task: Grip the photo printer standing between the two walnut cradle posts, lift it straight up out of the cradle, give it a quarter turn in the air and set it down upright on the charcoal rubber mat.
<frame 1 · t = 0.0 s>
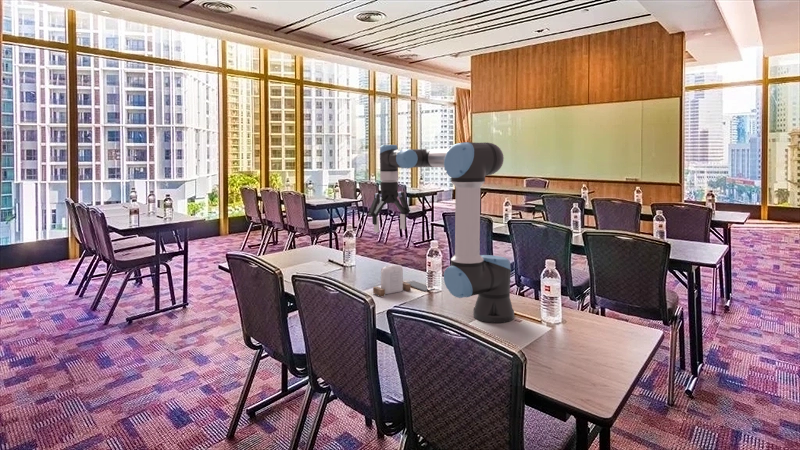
hand: (389, 230, 216), 28 cm above the table, tool pointing down, fingers open, 13 cm apart
mat: (418, 286, 230), on the table
cradle: (392, 292, 221), on the table
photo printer: (392, 292, 222), on the table
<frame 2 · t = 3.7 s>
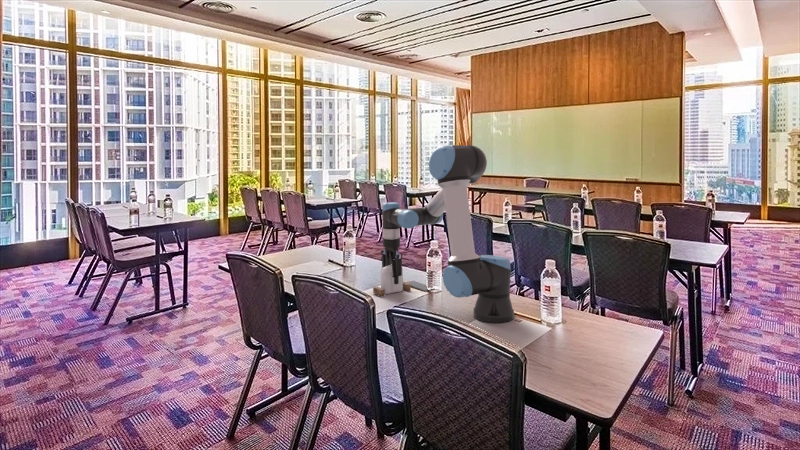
hand: (392, 289, 221), 1 cm above the table, tool pointing down, fingers closed on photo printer, 4 cm apart
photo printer: (392, 292, 221), on the table, touching gripper
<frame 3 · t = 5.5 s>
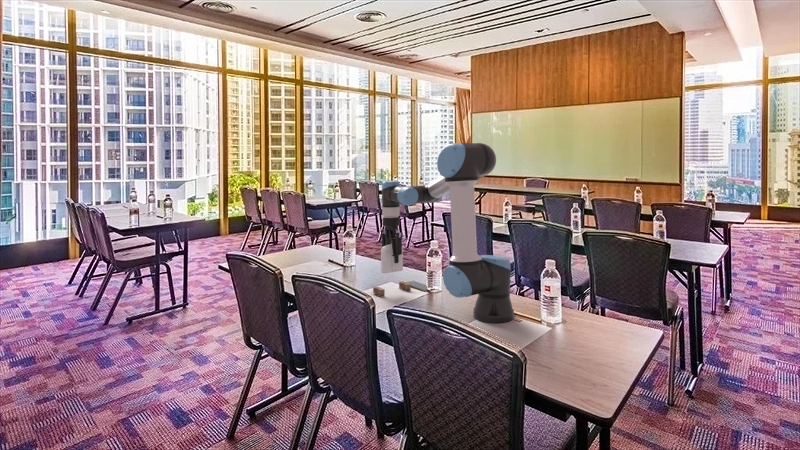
hand: (392, 269, 220), 11 cm above the table, tool pointing down, fingers closed on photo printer, 4 cm apart
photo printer: (392, 272, 220), point 9 cm above the table, touching gripper
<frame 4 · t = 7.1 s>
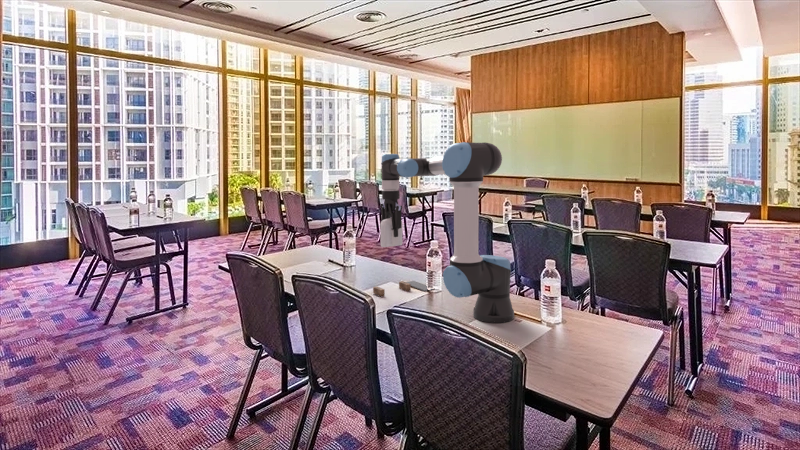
hand: (391, 243, 218), 22 cm above the table, tool pointing down, fingers closed on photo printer, 4 cm apart
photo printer: (391, 246, 218), point 21 cm above the table, touching gripper
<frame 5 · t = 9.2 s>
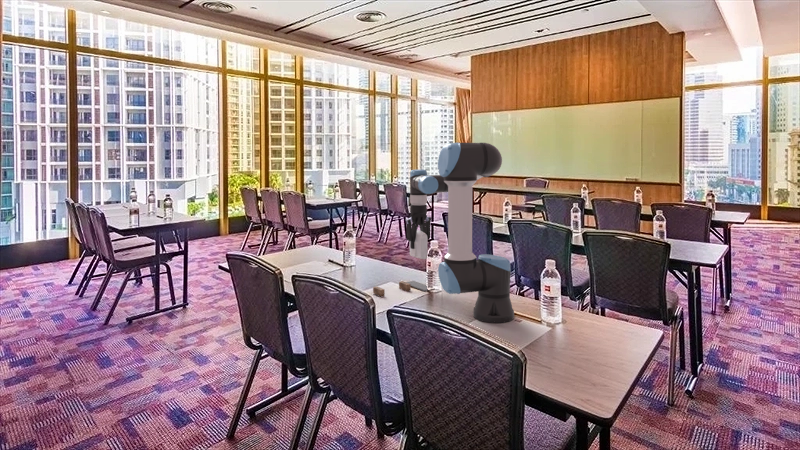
hand: (418, 254, 228), 15 cm above the table, tool pointing down, fingers closed on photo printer, 4 cm apart
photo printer: (418, 257, 228), point 14 cm above the table, touching gripper
when the fingers open (3 cm above the table, at t = 11.0 s): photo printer drops 1 cm, resting on mat.
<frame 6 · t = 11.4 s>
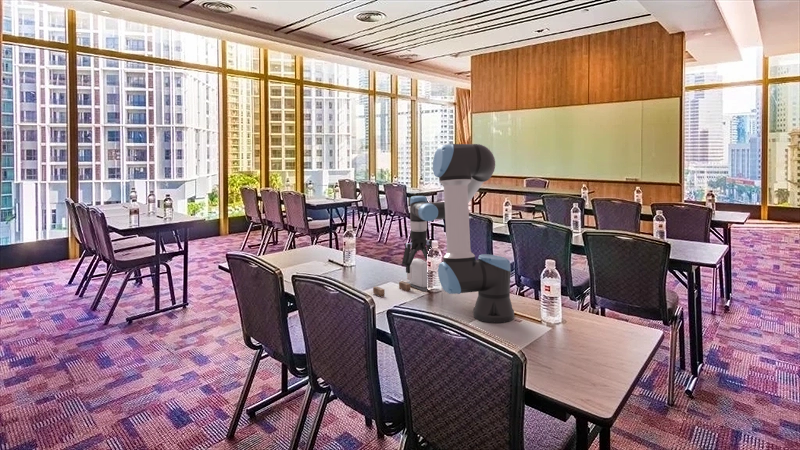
hand: (418, 277, 229), 4 cm above the table, tool pointing down, fingers open, 10 cm apart
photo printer: (418, 285, 230), resting on mat
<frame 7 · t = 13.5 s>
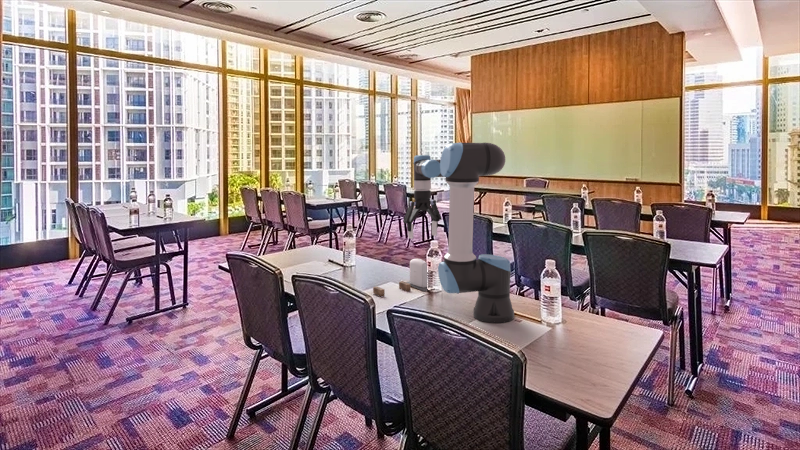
hand: (422, 236, 226), 23 cm above the table, tool pointing down, fingers open, 13 cm apart
nothing on the table moved.
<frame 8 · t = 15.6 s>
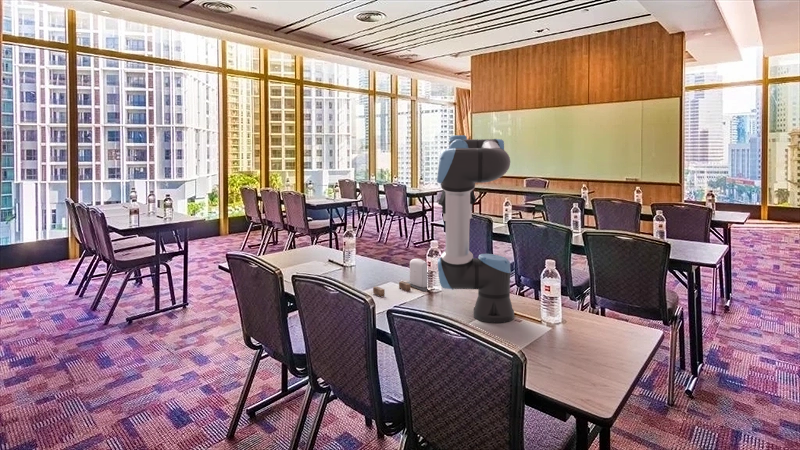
hand: (457, 219, 220), 32 cm above the table, tool pointing down, fingers open, 13 cm apart
nothing on the table moved.
at the end: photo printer inside the target area on the mat (0.0 cm from its centre), point 0.4 cm above the mat's base; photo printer tilted 0°; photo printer touching mat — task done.
